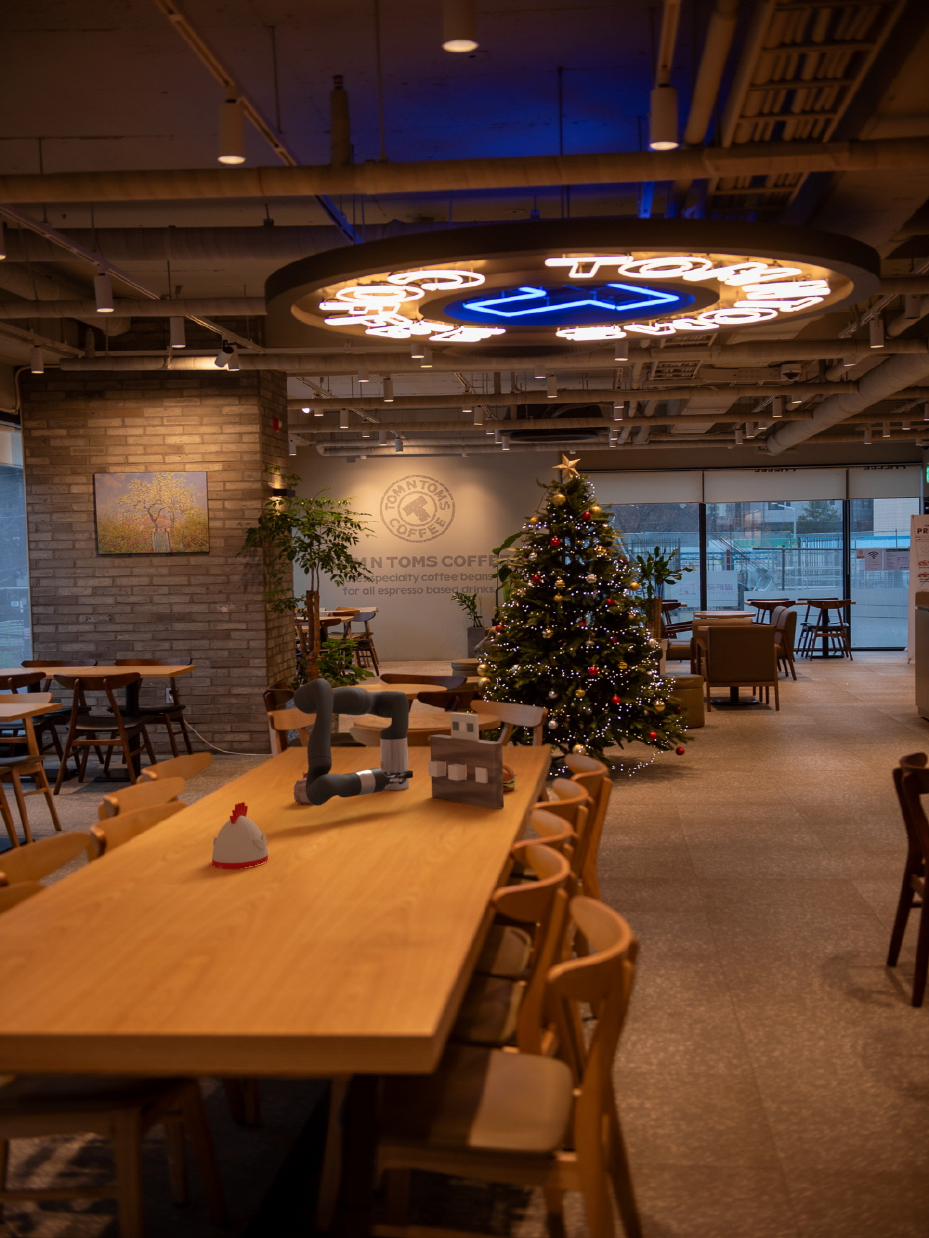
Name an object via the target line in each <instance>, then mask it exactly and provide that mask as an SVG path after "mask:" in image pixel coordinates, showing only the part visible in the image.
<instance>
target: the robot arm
mask: <svg viewBox="0 0 929 1238" xmlns="http://www.w3.org/2000/svg"><path fill="white" fill-rule="evenodd" d="M292 701H293V704H294V705H295V707H296V708H297V709H298V710H299V711H300V712H301V713H303V714H306V715H314V714H315V719H314V724H313V727H312V730H311V732H310V735H309V738H308V741H307V748H306V749H307V750H306V751H307V765H308V767H307V768H308V769H307V772H306V773H307V779H306V796H307V798H308V800H309V802H310V803H312V804H313V806H315V807H316V806H322V805H324V804H325V803H326V802H328V801H329V800H330V799H332V798H333V797H336V796H338V797H339V798H344V799H345V798H352V797H356V796H366V795H371V794H376V793H381V792H383V791H384V790H385V791H386V790H387V791H388V790H389V791H396V790H398V791H400V790H405V789H408V788H409V787H410V785H409V783H410V782H409V779H412V778H413V777H414V771H413V770H410V769H409V757H408V756H409V755H408V732H409V721H410V720H409V718H410V716H409V715H410V703H409V699H408V695H407V694H406V693H405V692H404V691H398V690H396V691H394V690H382V691H370V692H369V691H368V690H367V689H365V688H363V687H358V686H356V687H355V686H342V687H336V688H333V687H332V685H331V683H330V682H329V681H328V680H326V679H325V678H323V677H318V678H315V679H313V680H311V681H309V682H306V683H305V684H303V685H301V686H298V688H297V689H296V690H295V691H294V693H293V699H292ZM333 714H335V715H346V716H364V715H366V714H367V715H372V716H375V717H379V718H384V719H391V724H390V725H389V726H387V727H385V728H383V729H381V730H380V731H379V738H380V739H379V740H380V743H379V744H380V767H374V768H373V767H372V768H365V769H361V770H356V771H355V772H354V771H353V772H347V773H343V774H339V773H330V771H331V770H332V768H333V767H332V766H333V765H332V764H333V762H332V751H331V749H332V747H331V731H332V721H333Z"/></svg>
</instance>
